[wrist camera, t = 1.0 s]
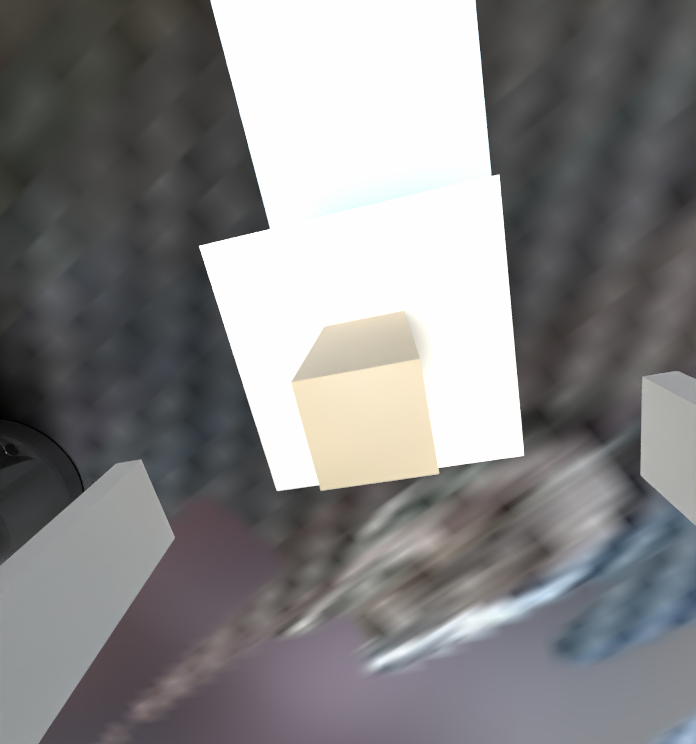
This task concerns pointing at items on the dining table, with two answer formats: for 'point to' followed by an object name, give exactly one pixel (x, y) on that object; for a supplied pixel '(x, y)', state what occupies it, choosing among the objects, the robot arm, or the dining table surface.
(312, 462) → the lid
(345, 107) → the mat
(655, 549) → the dining table surface
